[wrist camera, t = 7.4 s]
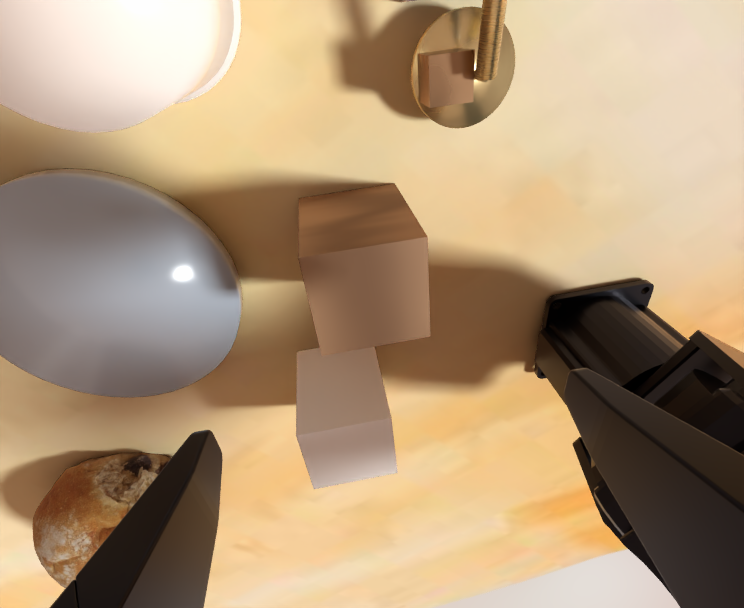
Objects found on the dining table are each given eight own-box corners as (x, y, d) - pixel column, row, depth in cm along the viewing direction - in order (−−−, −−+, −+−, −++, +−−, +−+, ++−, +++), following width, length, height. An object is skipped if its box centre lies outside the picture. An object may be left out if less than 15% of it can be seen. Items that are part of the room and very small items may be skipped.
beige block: (372, 338, 24) (391, 417, 19) (379, 390, 27) (397, 472, 22) (296, 351, 24) (296, 435, 19) (311, 403, 26) (313, 489, 21)
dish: (195, 148, 17) (188, 156, 16) (268, 360, 24) (266, 375, 23) (-111, 192, 16) (-137, 203, 15) (56, 398, 23) (45, 414, 22)
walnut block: (394, 183, 19) (427, 236, 14) (400, 266, 21) (430, 336, 17) (298, 198, 19) (298, 258, 14) (316, 280, 21) (321, 356, 16)
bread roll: (65, 429, 29) (-38, 552, 24) (149, 427, 24) (43, 581, 19) (165, 490, 35) (100, 601, 29) (251, 498, 30) (191, 634, 24)
